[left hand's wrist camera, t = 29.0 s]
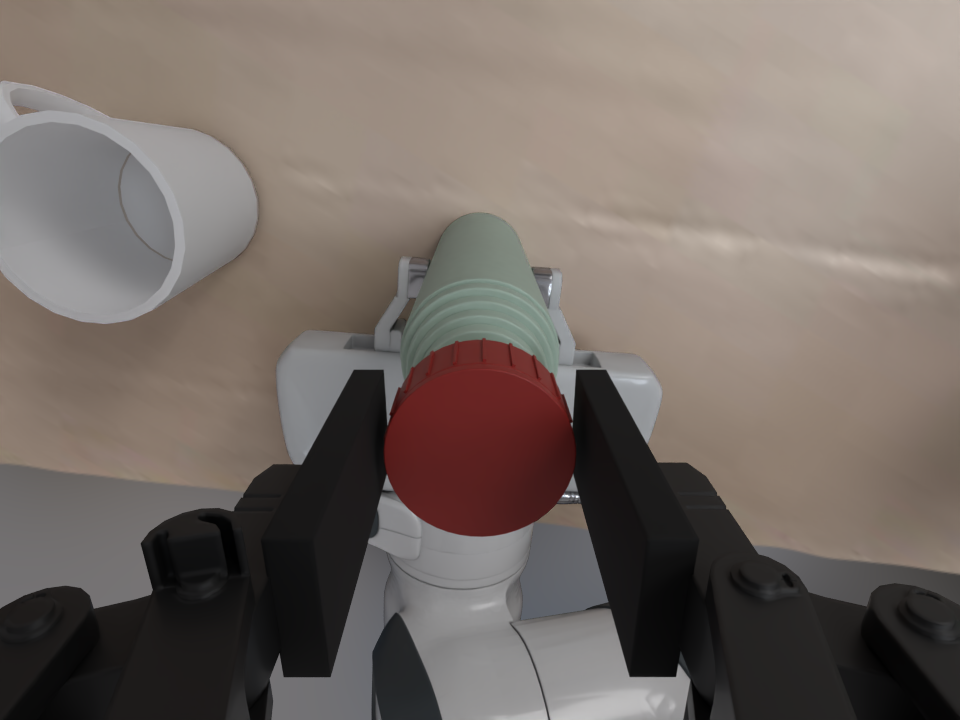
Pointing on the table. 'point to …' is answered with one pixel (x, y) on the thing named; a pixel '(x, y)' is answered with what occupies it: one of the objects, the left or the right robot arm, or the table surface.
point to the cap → (479, 439)
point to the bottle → (479, 295)
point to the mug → (113, 207)
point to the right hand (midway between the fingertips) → (480, 264)
